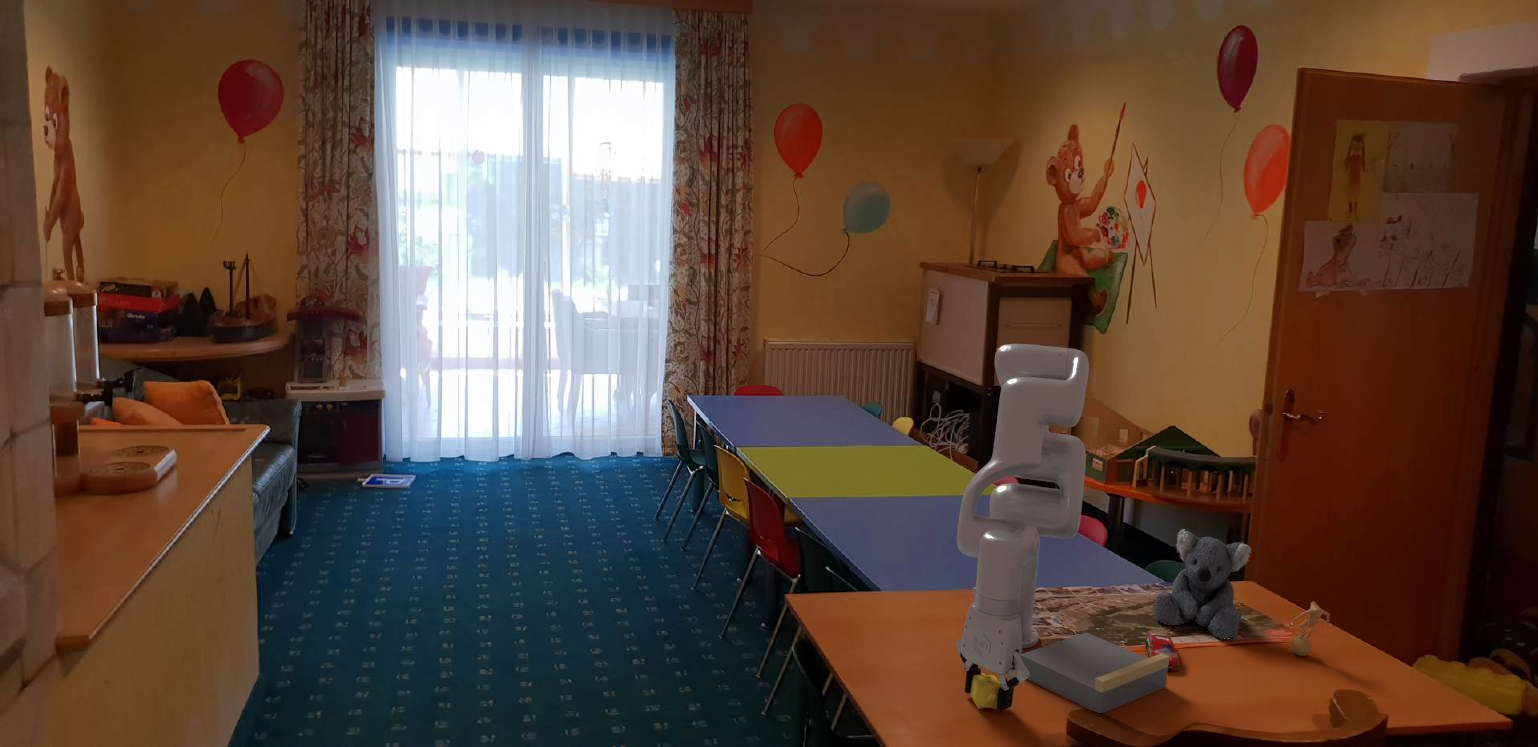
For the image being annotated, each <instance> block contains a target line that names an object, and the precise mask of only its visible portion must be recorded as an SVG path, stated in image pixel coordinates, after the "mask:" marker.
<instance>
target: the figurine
mask: <svg viewBox="0 0 1538 747" xmlns="http://www.w3.org/2000/svg"><path fill="white" fill-rule="evenodd" d="M1307 615H1308V619H1307V618H1306V619H1304V621H1303V622H1301V623H1300V624H1299V626H1300V629H1301V633H1302V634H1300V635H1296V636H1294V637H1293V638H1291V640H1290V644H1289V645H1290V649H1291V651H1292V653H1293V654H1295V655H1297V656H1300V657H1305V656H1308V655H1309V654H1310V653H1312V651H1313V644H1312V641H1311V640H1310V637H1311V636H1312V634H1313V632H1314V630H1313V629H1312V628H1314V627H1316V625H1318V623H1319V619H1320V617H1322V616H1323V615H1325V616H1326V619H1325V620H1324V622H1325V623H1324V624H1326V625H1328V624H1329V623H1330V617H1331V614H1330V613H1329V612H1327V611H1325V610H1324V609H1322V608H1321V607H1320V606H1319V605H1318V604H1317V603H1316V602H1315V601H1312V602H1310V608H1309V609H1308V610H1305V611H1304V612H1302V613H1300V614H1299V615H1298V616H1296V617H1294V618H1293V619H1292V620H1291V622H1290V623H1289V625H1290V626H1291V625H1292V624H1293V622H1296V621H1297V620H1299V619H1300V618H1302V617H1303V616H1307ZM1305 627H1308V632H1309V633H1308V634H1307V635H1306V629H1305Z"/></svg>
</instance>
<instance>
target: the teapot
mask: <svg viewBox="0 0 1538 747" xmlns="http://www.w3.org/2000/svg"><path fill="white" fill-rule="evenodd" d="M1001 687H1002V686H1001V682H1000V680H998V678H997V677H996V675H993V674H992V675H991V674H990V675H989V674H987V675H986V674H985V673H984V672H981V673H980V675H973V680H972V685H971V693H970V696H971V698H972V699H971V700H972V701H973V703H974V704H975V705H976V706H975V707H976V708H977V709H978V710H984V708H985V709H986V708H988V709H991V710H998V709H997V700H998V690H999V688H1001Z"/></svg>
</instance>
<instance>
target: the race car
mask: <svg viewBox="0 0 1538 747" xmlns="http://www.w3.org/2000/svg"><path fill="white" fill-rule="evenodd" d="M1145 649H1147V650H1146V653H1147V658H1151V657H1153V656H1156V655H1159V654H1161V653H1162V654H1164V655H1167V656H1169V664H1168V671H1170V672H1175V671H1179V669H1180V660H1179V655H1178V652H1179V649H1176V648H1175V644H1174V641H1173V639H1172V638H1171V636H1169V635H1167V634H1164V633H1157V632H1156V633H1154V632H1151V633H1149V634H1148V635H1147V637H1146V641H1145Z"/></svg>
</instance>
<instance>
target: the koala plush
mask: <svg viewBox="0 0 1538 747" xmlns="http://www.w3.org/2000/svg"><path fill="white" fill-rule="evenodd" d="M1176 540H1177V543H1176V545H1175V546H1176V547H1177V548H1176V553H1179V558H1180V559H1181V560H1182V563H1184V565H1185V568H1184V569H1183V570H1181V571H1180V572H1179V573H1178V575H1177V576H1176V577H1175V579H1174V581H1173V584H1172V587H1171V592H1170V591H1167V590H1162V591H1159V593H1158V594H1157V595H1156V598H1155V599H1154V602H1153V604H1152V606H1153V613H1152V614H1153V616H1154V619H1156V620H1157V621H1158V622H1159V621H1160V622H1162V623H1166V624H1169V625H1177V626H1182V625H1181V624H1183V625H1185V624H1187V622H1188V623H1189V621H1191V620H1192V621H1195V622H1196V624H1198V625H1199V626H1201V627H1205V628H1207V631H1208V630H1209V631H1210V632H1209V631H1208V632H1209V633H1210V634H1211V635H1212V636H1214V635H1215V636H1217V637H1220V638H1222V639H1221V640H1223V639H1224V638H1225V639H1227V640H1229V639H1228V638H1231V639H1232V637H1233V638H1234V637H1236V636H1237V634H1238V631H1239V627H1240V624H1241V620H1242V612H1241V611H1240V610H1239V609H1237V608H1236V607H1235V606H1234V599H1235V598H1234V597H1235V594H1234V593H1235V591H1234V586H1233V584H1232V582H1231V581H1230V580H1228V577H1229V576H1230V574H1231V572H1232V573H1233V572H1235V573H1236V572H1238V571H1239V570H1241V568H1243V567H1245V566H1246V565H1247V562H1249V558H1251V555H1250V554H1252V548H1251V547H1250V546H1249V545H1247V544H1245V542H1244V541H1242V542H1238V541H1237V542H1233V543H1229V544H1225V543H1223V541H1221V540H1220V539H1218V538H1214V537H1212V536H1204V537H1198V536H1197V535H1196V534H1193V533H1192V532H1191V531H1188V530H1186V529H1185V528H1182V529H1180V531H1178V532H1177V537H1176ZM1192 621H1191V622H1192ZM1160 622H1159V623H1160ZM1184 623H1185V624H1184ZM1215 636H1214V637H1215ZM1217 637H1216V638H1217ZM1225 639H1224V640H1225Z"/></svg>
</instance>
